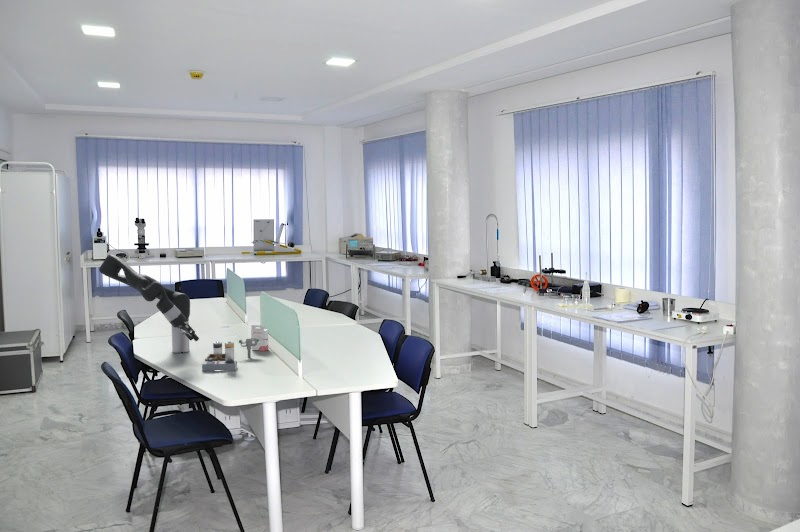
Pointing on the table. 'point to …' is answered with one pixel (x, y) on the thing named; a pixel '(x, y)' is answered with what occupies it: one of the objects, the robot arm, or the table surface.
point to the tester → (219, 366)
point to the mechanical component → (249, 344)
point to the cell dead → (217, 350)
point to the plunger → (210, 361)
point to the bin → (215, 359)
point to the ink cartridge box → (260, 337)
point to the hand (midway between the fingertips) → (194, 339)
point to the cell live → (229, 352)
